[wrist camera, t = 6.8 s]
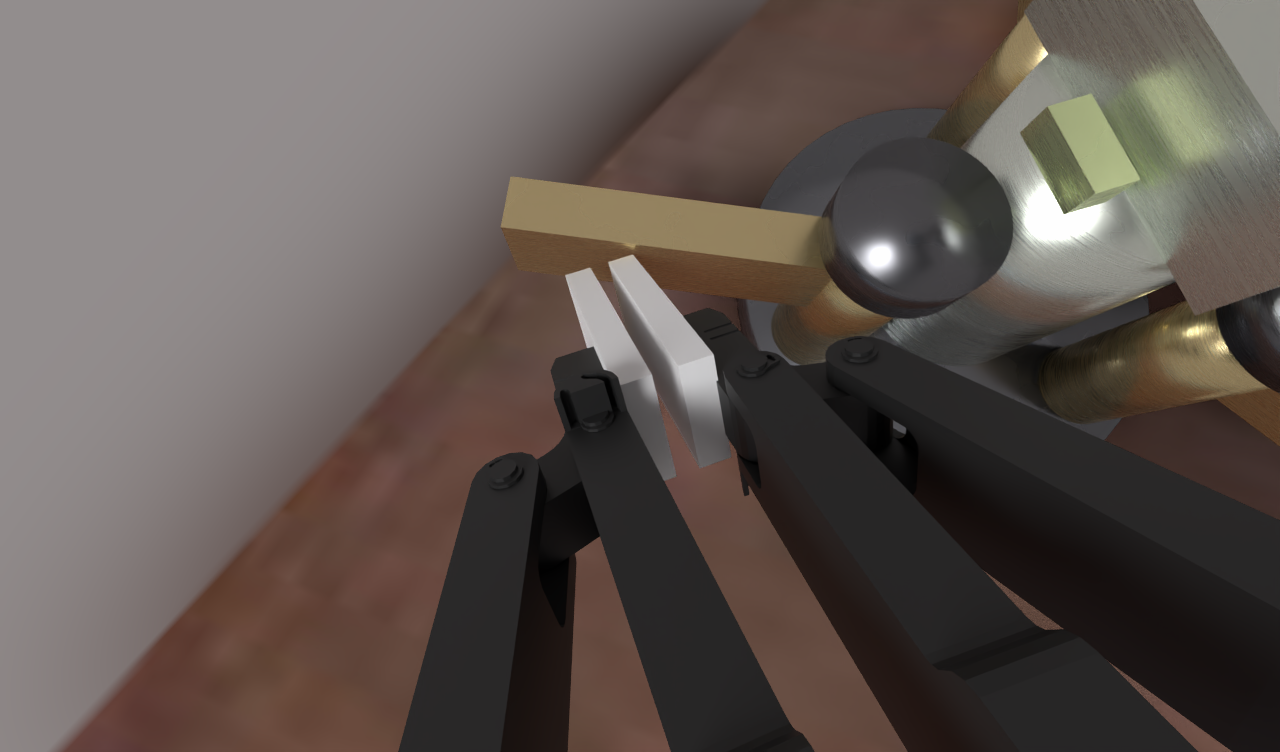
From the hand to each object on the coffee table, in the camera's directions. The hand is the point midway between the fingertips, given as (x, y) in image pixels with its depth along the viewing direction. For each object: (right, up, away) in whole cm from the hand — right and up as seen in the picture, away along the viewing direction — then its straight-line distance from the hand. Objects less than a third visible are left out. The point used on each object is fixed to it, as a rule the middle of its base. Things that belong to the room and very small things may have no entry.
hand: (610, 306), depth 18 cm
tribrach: (+14, +1, +9) cm, 16 cm away
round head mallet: (+3, 0, +6) cm, 7 cm away
